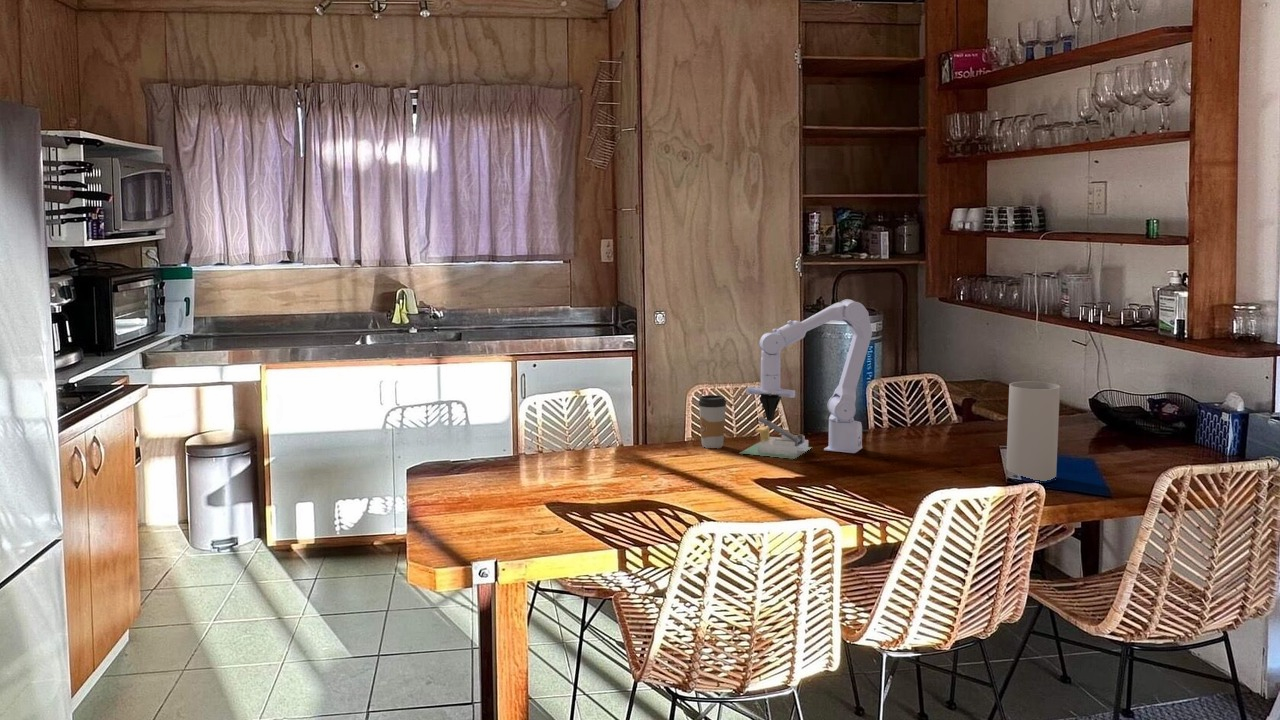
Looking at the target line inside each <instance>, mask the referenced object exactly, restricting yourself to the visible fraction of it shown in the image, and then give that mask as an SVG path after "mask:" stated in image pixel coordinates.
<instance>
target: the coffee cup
mask: <svg viewBox="0 0 1280 720" xmlns="http://www.w3.org/2000/svg"><path fill="white" fill-rule="evenodd" d="M726 407H727V400H726V399H725V396H723V395H715V394H714V395H713V394H711V395H710V394H708V395H702V396H699V400H698V408H699V426H700V427H699V429H700V430H699V431H700V437H701V438H700V441H701V445H702V448H704V447H705V448H704V449H708V448H717V449H721V448H722V447H723V445H724V436H725V429H726V428H725V425H726Z"/></svg>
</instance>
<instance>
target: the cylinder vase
mask: <svg viewBox="0 0 1280 720" xmlns="http://www.w3.org/2000/svg"><path fill="white" fill-rule="evenodd" d="M1008 386H1009V387H1008V412H1007V433H1006V434H1007V435H1006V436H1007V437H1006V439H1007V440H1006V460H1005V461H1006V466H1005V468H1006V469H1007V470H1008V471H1009V472H1012V473H1017V474H1019V475H1020V476H1023V477H1026V478H1030V479H1033V480H1040V481H1047V480H1051V479H1053V478H1055V477H1056V478H1057V467H1058V465H1057V463H1058V441H1059V422H1060V421H1059V417H1060V399H1061V398H1060V395H1061V386H1060V385H1059V384H1057V383H1051V382H1043V381H1015V382H1011V383H1009V384H1008ZM1006 469H1005V470H1006ZM1035 482H1039V481H1035ZM1040 483H1041V482H1040Z"/></svg>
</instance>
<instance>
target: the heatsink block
mask: <svg viewBox="0 0 1280 720" xmlns="http://www.w3.org/2000/svg"><path fill="white" fill-rule="evenodd" d="M780 435H781V437H777V436H769V437H768V438H766V439H764V440H763V441H761V442H760V441H759V442H757V443H758V453H760V454H770V455H780V456H790V457H798V456H800V455H801V454H803V453H804V452H806V451H808V447H809V439H806V438H805V435H804V434H799V433H798V434H796V435H795V434H794V435H795V436H797V437H798V438H799V437H800V438H801V439H802V440H801V441H800V442H798V438H796V437H793V440H791V439H789V438H788V437H786V436H784V435H782V434H780ZM808 452H809V451H808ZM806 453H807V452H806ZM804 454H805V453H804ZM804 454H803V455H804ZM801 456H802V455H801ZM801 456H800V457H801ZM798 458H799V457H798Z"/></svg>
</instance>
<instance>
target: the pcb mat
mask: <svg viewBox="0 0 1280 720" xmlns="http://www.w3.org/2000/svg"><path fill="white" fill-rule="evenodd" d="M758 443H759V442H757V443H755V444H753V445H752V446H749V447H748V448H746V449H744V450H742V451H740V452H739V453H738V454H739V455H743V454H750V455H749V456H753V455H760V456H759V457H763V456H770V457H769V458H773V457H779V458H778V459H783V458H789V459H788V460H793V459H795V458H796V459H798V458H799V456H798V458H797V457H790V456H780V455H770V454H760V453H758ZM811 448H812V449H814V448H813V447H812V446H808V450H809V451H811V450H812V449H811ZM810 449H811V450H810ZM806 453H808V452H807V451H806ZM806 453H805V452H804V454H806ZM801 456H803V455H802V454H801ZM796 459H795V460H796Z"/></svg>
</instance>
